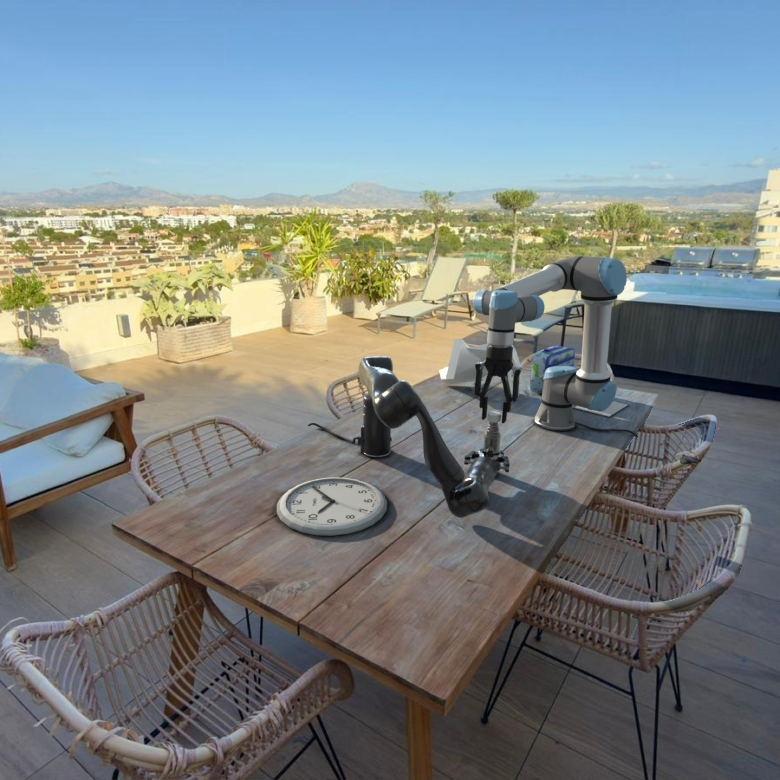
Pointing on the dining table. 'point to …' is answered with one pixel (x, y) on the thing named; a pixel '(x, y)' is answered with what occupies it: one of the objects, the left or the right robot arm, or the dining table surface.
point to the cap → (494, 416)
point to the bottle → (492, 440)
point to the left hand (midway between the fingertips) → (492, 451)
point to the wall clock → (331, 506)
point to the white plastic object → (473, 365)
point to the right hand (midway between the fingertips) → (493, 419)
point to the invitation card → (609, 411)
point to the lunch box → (549, 364)
